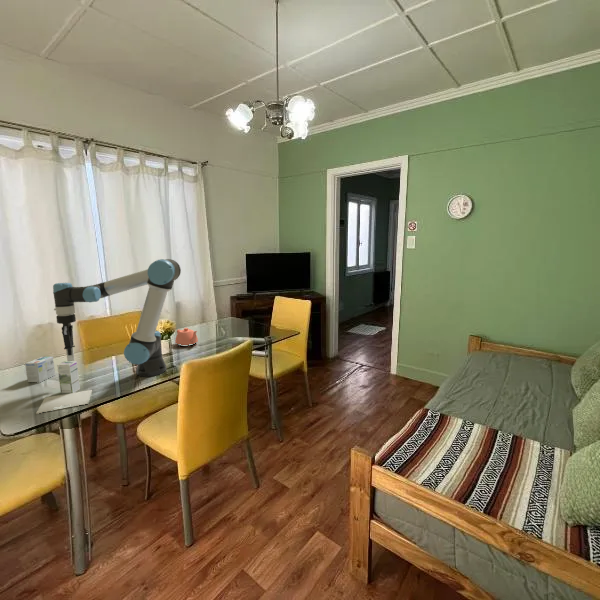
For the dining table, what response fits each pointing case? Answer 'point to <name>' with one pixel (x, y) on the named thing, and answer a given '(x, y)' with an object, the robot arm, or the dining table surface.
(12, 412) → the dining table surface
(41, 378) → the light bulb box
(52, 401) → the mat
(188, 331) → the teapot
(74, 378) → the syrup box
